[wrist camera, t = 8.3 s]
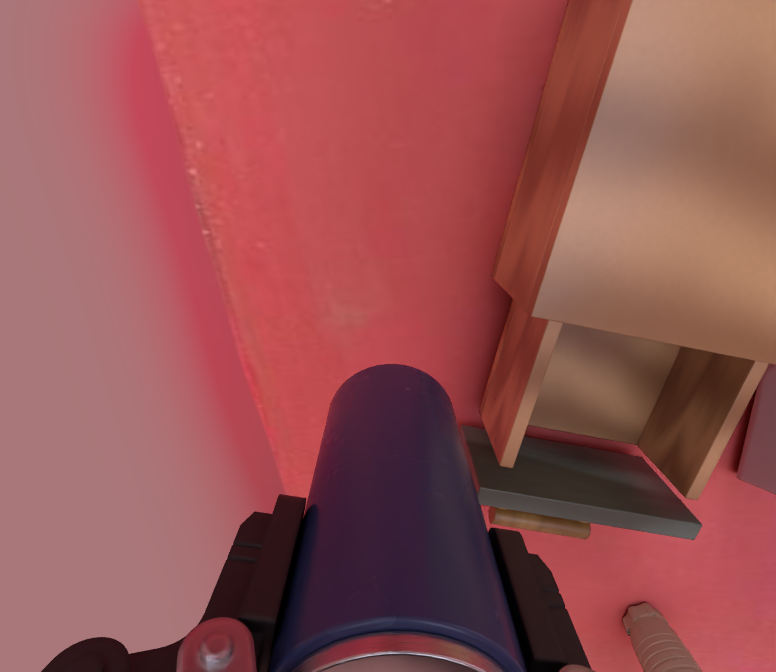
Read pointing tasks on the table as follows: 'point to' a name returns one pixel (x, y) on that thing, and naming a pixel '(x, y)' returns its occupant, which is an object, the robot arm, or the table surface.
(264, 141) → the table surface
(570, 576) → the table surface
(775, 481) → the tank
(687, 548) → the table surface
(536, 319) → the drawer
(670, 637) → the handle
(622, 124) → the cabinet
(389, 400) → the can
